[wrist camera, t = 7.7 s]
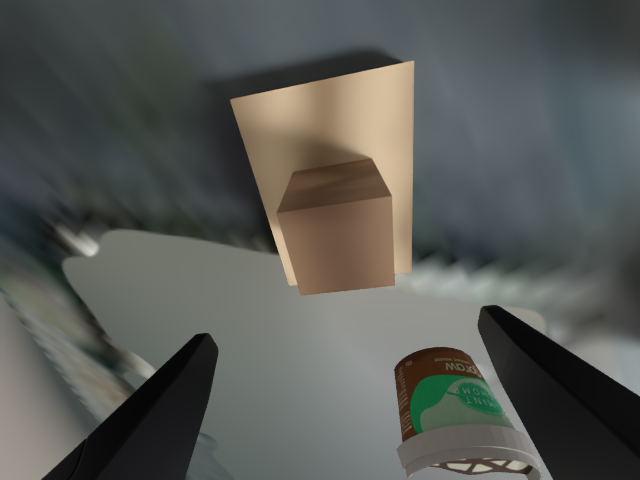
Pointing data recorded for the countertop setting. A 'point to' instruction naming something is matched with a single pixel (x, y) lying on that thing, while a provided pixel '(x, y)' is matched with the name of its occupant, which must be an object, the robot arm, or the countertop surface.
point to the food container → (456, 418)
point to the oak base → (334, 140)
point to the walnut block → (339, 228)
